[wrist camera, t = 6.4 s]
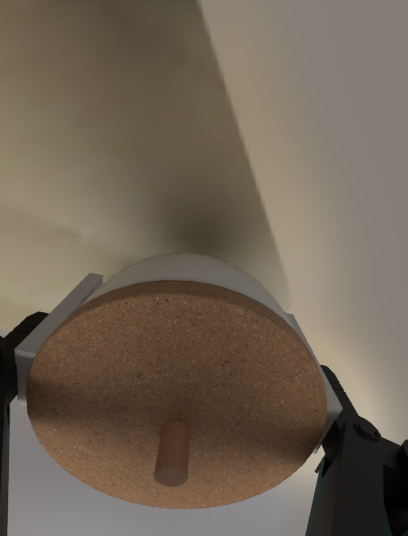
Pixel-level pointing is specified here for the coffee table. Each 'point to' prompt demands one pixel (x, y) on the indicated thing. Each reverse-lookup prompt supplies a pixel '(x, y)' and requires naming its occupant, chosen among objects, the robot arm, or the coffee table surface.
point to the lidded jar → (178, 387)
